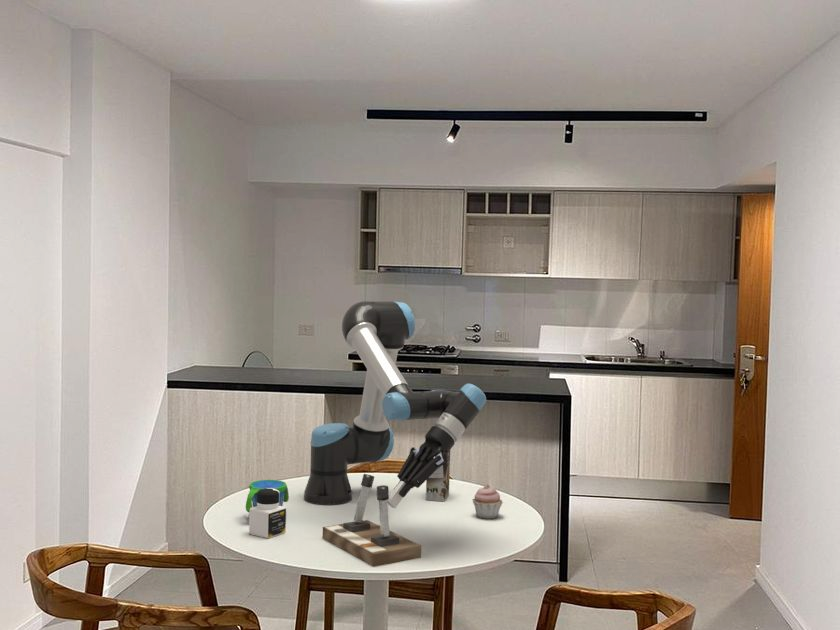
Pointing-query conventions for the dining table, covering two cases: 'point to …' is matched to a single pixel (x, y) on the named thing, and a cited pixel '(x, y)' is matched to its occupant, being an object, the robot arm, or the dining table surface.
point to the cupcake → (487, 502)
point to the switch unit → (371, 543)
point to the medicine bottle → (267, 515)
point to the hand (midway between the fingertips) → (390, 504)
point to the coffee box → (439, 481)
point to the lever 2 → (383, 508)
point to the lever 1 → (363, 496)
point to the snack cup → (264, 484)
